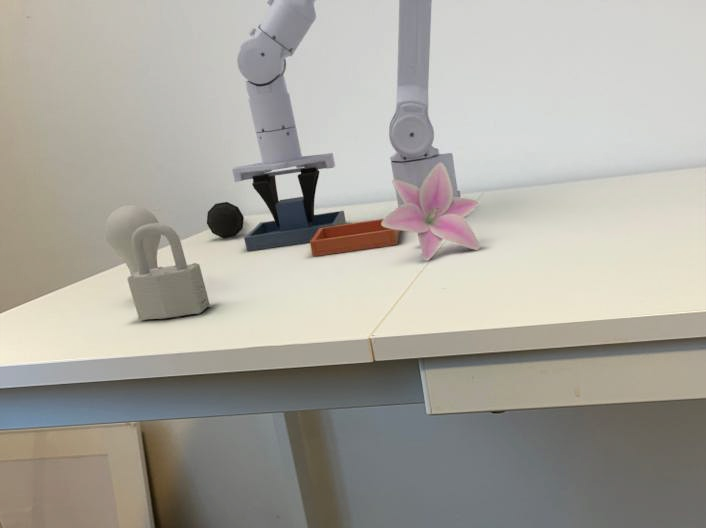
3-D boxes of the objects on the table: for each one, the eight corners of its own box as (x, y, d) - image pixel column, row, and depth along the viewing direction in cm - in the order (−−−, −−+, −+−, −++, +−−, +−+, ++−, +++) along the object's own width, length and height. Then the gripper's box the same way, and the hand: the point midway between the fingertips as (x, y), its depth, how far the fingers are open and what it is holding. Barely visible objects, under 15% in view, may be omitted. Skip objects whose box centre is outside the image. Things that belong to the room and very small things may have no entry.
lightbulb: (134, 293, 100) (108, 205, 96) (183, 285, 100) (159, 197, 97) (118, 307, 95) (90, 214, 91) (170, 299, 95) (144, 206, 91)
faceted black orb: (230, 237, 145) (217, 245, 125) (213, 209, 143) (197, 212, 124) (257, 223, 145) (248, 229, 126) (241, 194, 144) (229, 195, 124)
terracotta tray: (399, 230, 114) (397, 216, 114) (396, 244, 106) (394, 229, 105) (322, 241, 115) (319, 227, 114) (312, 256, 106) (309, 241, 105)
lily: (373, 274, 96) (383, 207, 90) (382, 218, 105) (391, 153, 98) (472, 290, 98) (488, 225, 91) (473, 233, 106) (488, 170, 100)
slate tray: (346, 223, 126) (343, 210, 125) (338, 238, 115) (335, 224, 115) (262, 235, 126) (260, 222, 125) (247, 251, 116) (243, 237, 115)
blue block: (313, 228, 122) (306, 196, 121) (309, 234, 119) (302, 200, 117) (287, 232, 122) (280, 199, 121) (282, 238, 119) (275, 204, 117)
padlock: (136, 323, 87) (109, 231, 83) (152, 311, 90) (127, 223, 87) (199, 315, 86) (174, 223, 82) (212, 304, 90) (189, 215, 86)
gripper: (218, 139, 112) (241, 235, 116) (322, 124, 111) (340, 221, 116) (231, 134, 118) (252, 226, 123) (328, 120, 118) (346, 212, 123)
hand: (295, 223), depth 120 cm, fingers closed on blue block, 4 cm apart
